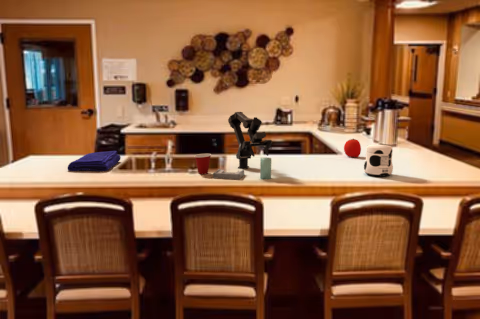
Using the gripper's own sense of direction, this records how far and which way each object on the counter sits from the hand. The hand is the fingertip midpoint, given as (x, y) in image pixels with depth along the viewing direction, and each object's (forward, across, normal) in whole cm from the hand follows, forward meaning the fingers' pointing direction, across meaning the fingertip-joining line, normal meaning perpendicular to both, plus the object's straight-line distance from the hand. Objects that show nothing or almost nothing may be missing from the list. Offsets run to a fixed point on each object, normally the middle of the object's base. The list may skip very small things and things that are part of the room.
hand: (261, 155), depth 293 cm
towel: (-39, -90, +56) cm, 113 cm away
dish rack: (+5, -19, +13) cm, 23 cm away
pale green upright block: (+14, 0, +4) cm, 14 cm away
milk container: (+26, +69, -8) cm, 74 cm away
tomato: (-16, +93, +34) cm, 100 cm away
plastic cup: (-5, -31, +23) cm, 39 cm away
